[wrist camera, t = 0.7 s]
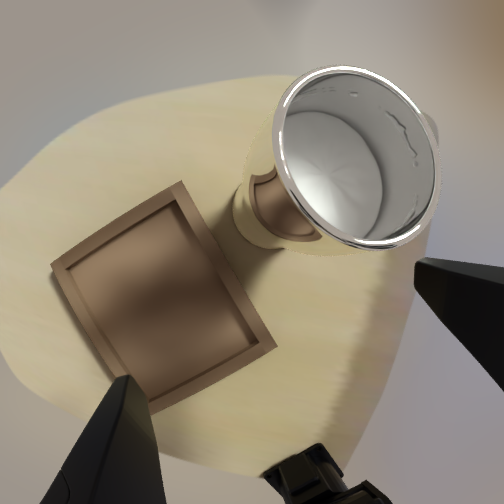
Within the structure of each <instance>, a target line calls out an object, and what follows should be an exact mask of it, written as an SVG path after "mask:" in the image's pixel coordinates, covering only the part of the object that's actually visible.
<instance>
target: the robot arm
mask: <svg viewBox="0 0 504 504" xmlns="http://www.w3.org/2000/svg"><path fill="white" fill-rule="evenodd" d="M414 287H415V289H416V291H417V292H418V293H419V295H420V296H421V297H422V298H423V299H424V301H425V302H426V303H427V304H428V306H429V307H430V308H431V309H432V311H433V312H434V313H435V314H436V316H437V317H438V318H439V319H440V321H441V322H442V323H443V324H444V325H445V326H446V327H447V328H448V329H449V330H450V331H451V333H452V334H453V335H454V336H455V337H456V338H457V339H458V340H459V341H460V342H461V343H462V344H463V345H464V347H465V348H466V349H467V350H468V351H469V352H470V353H471V354H472V355H473V356H474V357H475V359H476V360H477V361H478V362H479V363H480V364H481V365H482V367H483V368H484V369H485V370H486V371H487V372H488V373H489V375H490V376H491V377H492V378H493V379H494V381H495V382H496V383H497V384H498V385H499V387H500V388H501V389H502V390H503V391H504V267H497V266H490V265H483V264H475V263H467V262H460V261H451V260H444V259H435V258H428V257H425V258H422V259H420V260H419V261H417V262H416V263H415V267H414ZM319 447H320V448H319ZM318 448H319V449H318ZM268 475H270V476H268ZM263 476H264V478H265V480H266V481H267V482H268V483H269V484H270V485H271V486H272V487H273V488H274V489H275V490H276V491H277V492H278V493H279V494H280V495H281V496H282V497H283V499H284V501H285V504H392V502H391V501H390V500H389V498H388V497H387V496H386V495H384V494H383V493H382V492H381V491H379V490H378V489H377V488H376V487H374V486H373V485H372V484H371V483H369V482H368V481H367V480H365V481H363V482H362V483H361V484H359V485H357V486H355V487H353V488H351V489H348V488H347V486H346V485H345V483H344V482H343V480H342V479H341V478H342V477H343V476H344V474H343V473H342V471H341V470H340V468H339V467H338V466H337V464H336V463H335V461H334V460H333V458H332V457H331V456H330V454H329V453H328V451H327V450H326V448H325V447H324V446H323V444H322V443H318V444H316V445H314V446H312V447H311V448H309V449H307V450H305V451H304V452H302V453H300V454H298V455H297V456H295V457H293V458H291V459H289V460H288V461H286V462H284V463H282V464H280V465H278V466H276V467H274V468H272V469H270V470H268V471H266V472H265V473H264V474H263ZM40 504H167V503H166V498H165V493H164V487H163V481H162V475H161V469H160V461H159V454H158V448H157V442H156V438H155V434H154V430H153V425H152V421H151V417H150V412H149V407H148V403H147V398H146V396H145V394H144V392H143V390H142V389H141V388H140V386H139V385H138V384H137V382H136V381H135V379H134V378H133V377H132V376H131V375H130V374H126V375H123V376H119V377H117V378H116V379H115V380H114V382H113V383H112V385H111V387H110V388H109V390H108V391H107V393H106V394H105V396H104V398H103V399H102V401H101V402H100V404H99V406H98V407H97V409H96V410H95V412H94V414H93V415H92V417H91V419H90V420H89V422H88V423H87V425H86V427H85V428H84V430H83V432H82V433H81V435H80V437H79V438H78V440H77V442H76V443H75V445H74V447H73V448H72V450H71V452H70V453H69V455H68V457H67V459H66V460H65V462H64V464H63V466H62V467H61V470H60V471H59V472H58V474H57V476H56V478H55V479H54V481H53V483H52V484H51V486H50V488H49V490H48V491H47V493H46V494H45V496H44V498H43V499H42V501H41V502H40Z"/></svg>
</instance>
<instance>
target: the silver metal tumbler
mask: <svg viewBox="0 0 504 504" xmlns="http://www.w3.org/2000/svg"><path fill="white" fill-rule="evenodd" d="M441 185H442V168H441V159H440V154H439V150H438V146H437V143H436V140H435V137H434V135H433V133H432V130H431V128H430V126H429V124H428V122H427V121H426V119H425V117H424V116H423V114H422V113H421V111H420V110H419V109H418V107H417V106H416V105H415V104H414V102H413V101H412V100H411V99H410V98H409V97H408V96H407V95H406V94H405V93H404V92H403V91H402V90H401V89H399V88H398V87H397V86H395V85H394V84H392V83H391V82H390V81H388V80H387V79H385V78H383V77H381V76H380V75H378V74H376V73H373V72H371V71H368V70H366V69H362V68H359V67H354V66H347V65H330V66H324V67H320V68H316V69H314V70H311V71H309V72H307V73H305V74H303V75H302V76H300V77H299V78H298V79H296V80H295V81H294V82H293V83H292V84H291V85H290V86H289V87H288V88H287V90H286V91H285V92H284V94H283V95H282V97H281V99H280V101H279V102H278V104H277V105H276V106H275V107H274V109H273V110H272V111H271V113H270V114H269V115H268V117H267V118H266V120H265V121H264V122H263V124H262V125H261V127H260V129H259V131H258V132H257V134H256V136H255V138H254V139H253V141H252V144H251V146H250V149H249V151H248V154H247V157H246V160H245V164H244V168H243V179H242V184H241V185H240V186H239V188H238V189H237V191H236V194H235V196H234V200H233V206H232V212H233V218H234V222H235V224H236V227H237V229H238V230H239V232H240V233H241V234H242V235H243V237H244V238H245V239H247V240H248V241H249V242H251V243H252V244H254V245H256V246H258V247H261V248H266V249H278V248H283V247H284V248H286V249H288V250H291V251H294V252H297V253H300V254H306V255H314V256H345V255H352V254H359V253H364V252H370V251H383V250H390V249H393V248H397V247H399V246H402V245H404V244H406V243H408V242H409V241H411V240H412V239H414V238H415V237H416V236H418V235H419V234H420V233H421V232H422V231H423V229H424V228H425V227H426V226H427V224H428V223H429V221H430V220H431V218H432V216H433V214H434V212H435V210H436V207H437V205H438V201H439V197H440V193H441Z"/></svg>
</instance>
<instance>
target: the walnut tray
mask: <svg viewBox="0 0 504 504" xmlns="http://www.w3.org/2000/svg"><path fill="white" fill-rule="evenodd" d="M50 265H51V267H52V269H53V271H54V274H55V276H56V278H57V280H58V282H59V284H60V286H61V288H62V290H63V292H64V293H65V295H66V297H67V299H68V301H69V303H70V305H71V307H72V308H73V310H74V312H75V314H76V316H77V317H78V319H79V321H80V323H81V324H82V326H83V328H84V329H85V331H86V333H87V334H88V336H89V338H90V339H91V341H92V342H93V344H94V346H95V347H96V349H97V350H98V352H99V353H100V355H101V357H102V358H103V360H104V361H105V363H106V364H107V366H108V367H109V368H110V370H111V371H112V373H113V374H114V376H115V377H116V378H117V377H119V376H123V375H126V374H130V375H131V376H132V377H133V378H134V379H135V381H136V382H137V384H138V385H139V386H140V388H141V389H142V390H143V392H144V394H145V396H146V398H147V403H148V407H149V412H150V415H152V414H155V413H157V412H159V411H161V410H163V409H165V408H167V407H169V406H171V405H173V404H175V403H177V402H179V401H181V400H183V399H185V398H187V397H189V396H191V395H193V394H195V393H197V392H199V391H201V390H203V389H204V388H206V387H208V386H210V385H212V384H214V383H216V382H217V381H219V380H221V379H223V378H225V377H226V376H228V375H230V374H232V373H234V372H235V371H237V370H239V369H241V368H242V367H244V366H246V365H248V364H249V363H251V362H253V361H254V360H256V359H258V358H260V357H261V356H263V355H265V354H266V353H268V352H270V351H271V350H273V349H274V348H276V347H278V346H277V344H276V343H275V341H274V339H273V338H272V336H271V334H270V333H269V331H268V329H267V328H266V326H265V324H264V323H263V321H262V319H261V318H260V316H259V314H258V313H257V311H256V309H255V308H254V306H253V304H252V303H251V301H250V299H249V298H248V296H247V294H246V292H245V291H244V289H243V287H242V286H241V284H240V282H239V281H238V279H237V277H236V275H235V274H234V272H233V270H232V269H231V267H230V265H229V263H228V262H227V260H226V258H225V256H224V255H223V253H222V251H221V250H220V248H219V246H218V244H217V243H216V241H215V239H214V237H213V236H212V234H211V232H210V230H209V229H208V227H207V225H206V223H205V222H204V220H203V218H202V216H201V214H200V213H199V211H198V209H197V207H196V206H195V204H194V202H193V200H192V198H191V197H190V195H189V193H188V191H187V189H186V188H185V186H184V184H183V182H182V180H181V181H179V182H177V183H175V184H174V185H172V186H170V187H168V188H167V189H165V190H163V191H161V192H160V193H158V194H156V195H155V196H153V197H151V198H149V199H148V200H146V201H144V202H143V203H141V204H139V205H138V206H136V207H135V208H133V209H131V210H130V211H128V212H126V213H125V214H123V215H122V216H120V217H118V218H117V219H115V220H114V221H112V222H111V223H109V224H107V225H106V226H104V227H103V228H101V229H100V230H98V231H97V232H95V233H94V234H92V235H91V236H89V237H88V238H86V239H85V240H83V241H82V242H80V243H79V244H78V245H76V246H75V247H73V248H72V249H70V250H69V251H68V252H66V253H65V254H63V255H62V256H61V257H59V258H58V259H56V260H55V261H54V262H52V263H51V264H50Z"/></svg>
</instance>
